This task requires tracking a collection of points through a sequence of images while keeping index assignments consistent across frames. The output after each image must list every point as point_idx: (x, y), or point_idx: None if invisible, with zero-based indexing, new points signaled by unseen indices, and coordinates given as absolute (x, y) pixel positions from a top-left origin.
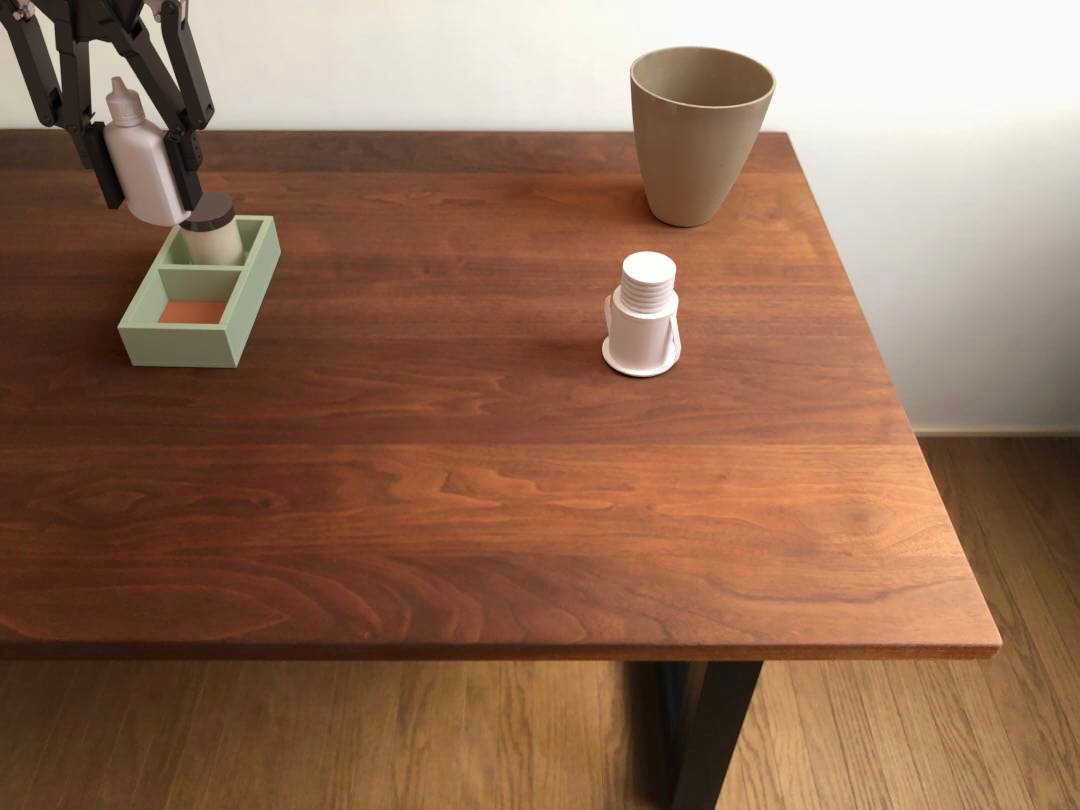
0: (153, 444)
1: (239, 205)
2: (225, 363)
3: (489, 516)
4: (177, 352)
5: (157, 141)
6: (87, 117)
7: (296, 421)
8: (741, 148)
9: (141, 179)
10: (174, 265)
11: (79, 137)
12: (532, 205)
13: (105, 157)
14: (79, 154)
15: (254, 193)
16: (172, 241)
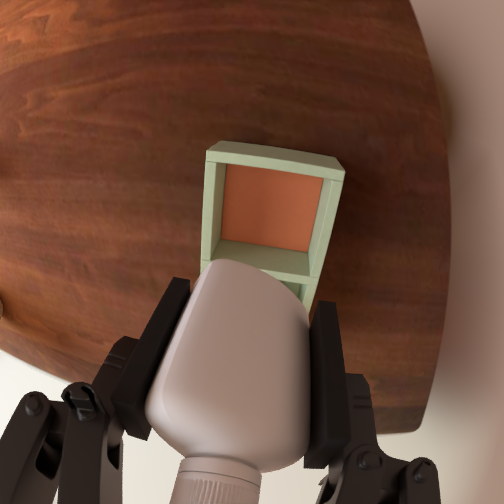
0: (290, 34)
1: None
2: (230, 142)
3: (29, 6)
4: (279, 151)
5: (151, 405)
6: (331, 480)
7: (149, 63)
8: None
9: (235, 333)
10: (290, 279)
11: (359, 438)
12: (51, 323)
13: (316, 395)
14: (369, 402)
15: None
16: None
